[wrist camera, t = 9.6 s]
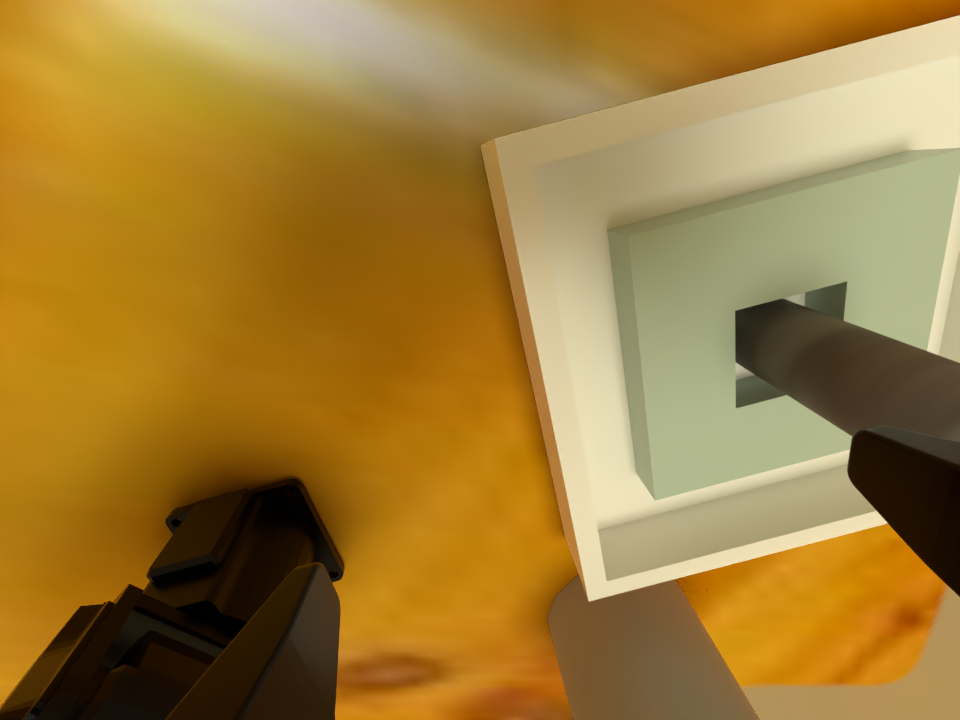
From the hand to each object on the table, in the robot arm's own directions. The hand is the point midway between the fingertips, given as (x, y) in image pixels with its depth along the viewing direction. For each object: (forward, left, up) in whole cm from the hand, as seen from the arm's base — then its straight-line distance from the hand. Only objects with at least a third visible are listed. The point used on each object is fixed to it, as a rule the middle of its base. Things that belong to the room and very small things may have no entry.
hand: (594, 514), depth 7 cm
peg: (-4, -11, -12) cm, 16 cm away
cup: (-21, -3, -13) cm, 25 cm away
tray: (-4, -11, -13) cm, 17 cm away
